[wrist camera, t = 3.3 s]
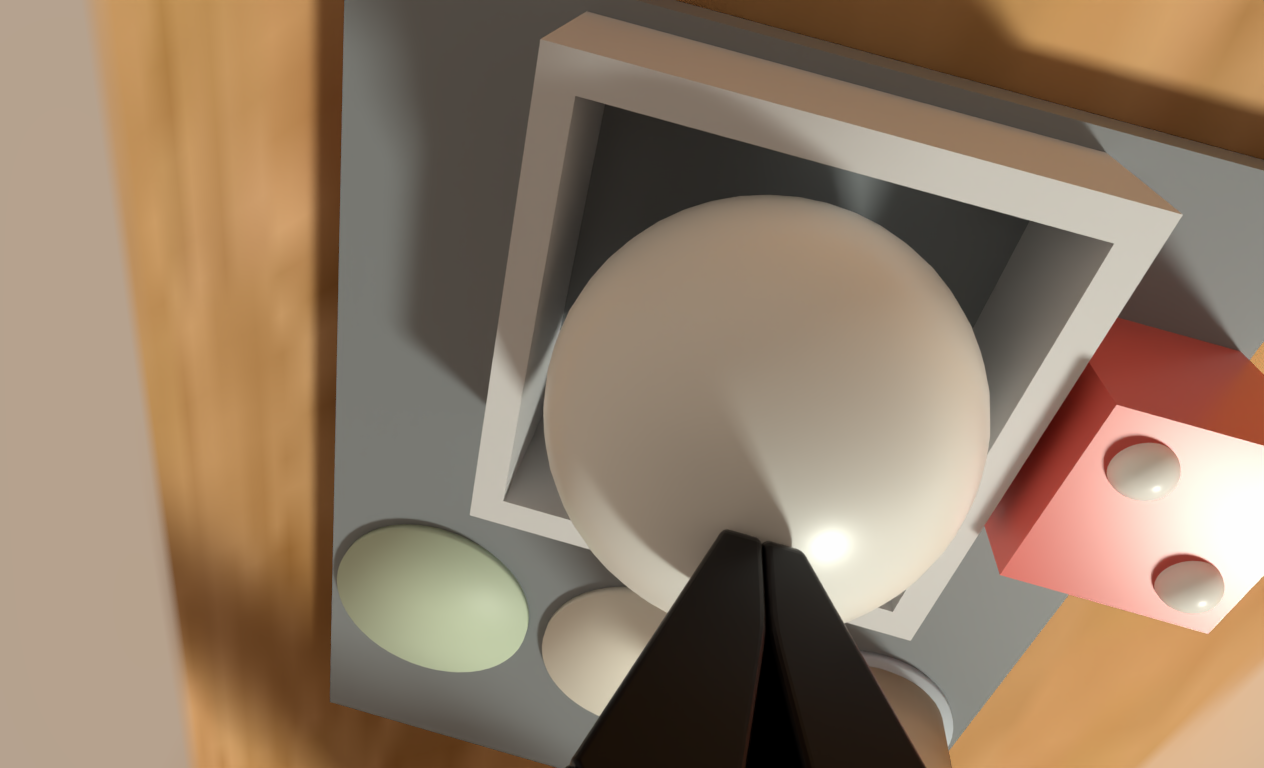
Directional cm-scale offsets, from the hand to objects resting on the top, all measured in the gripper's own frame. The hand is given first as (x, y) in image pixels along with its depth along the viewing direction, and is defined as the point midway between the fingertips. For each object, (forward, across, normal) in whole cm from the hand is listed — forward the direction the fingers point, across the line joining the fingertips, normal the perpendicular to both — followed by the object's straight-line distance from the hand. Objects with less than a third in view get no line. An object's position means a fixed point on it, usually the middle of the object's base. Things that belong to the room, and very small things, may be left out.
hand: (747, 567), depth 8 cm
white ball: (+6, 0, 0) cm, 6 cm away
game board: (+7, 0, +5) cm, 8 cm away
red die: (+7, -6, 0) cm, 9 cm away
